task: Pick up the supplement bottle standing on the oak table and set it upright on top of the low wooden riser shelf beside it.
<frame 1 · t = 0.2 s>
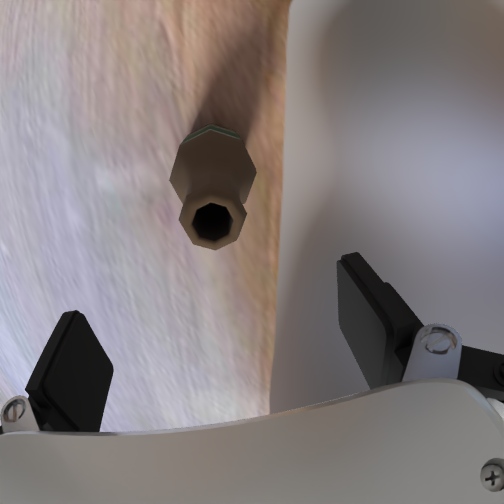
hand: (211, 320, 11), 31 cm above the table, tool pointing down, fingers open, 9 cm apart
beer bottle: (213, 153, 38), on the table
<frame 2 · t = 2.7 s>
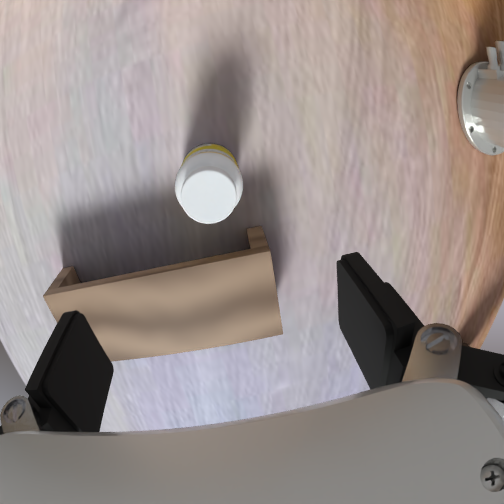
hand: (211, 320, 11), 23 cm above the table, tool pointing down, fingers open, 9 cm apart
supplement bottle: (209, 168, 31), on the table
wooden riser shelf: (165, 286, 36), on the table
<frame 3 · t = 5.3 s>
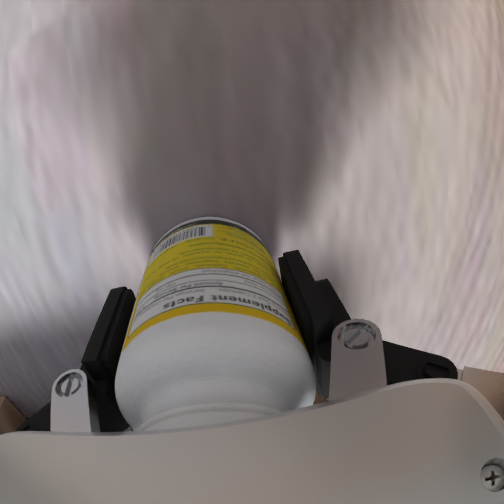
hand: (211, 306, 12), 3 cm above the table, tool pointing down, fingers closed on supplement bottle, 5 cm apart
supplement bottle: (211, 269, 14), on the table, touching gripper
wooden riser shelf: (146, 435, 19), on the table
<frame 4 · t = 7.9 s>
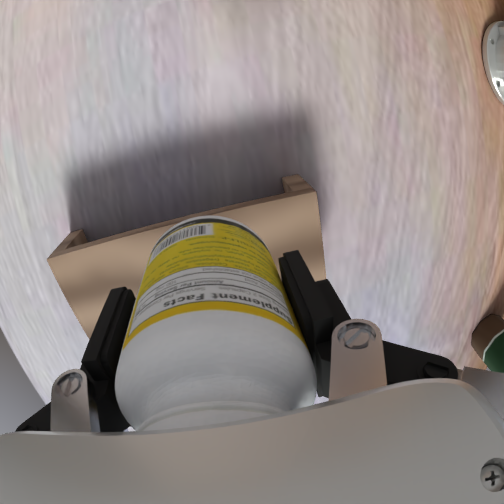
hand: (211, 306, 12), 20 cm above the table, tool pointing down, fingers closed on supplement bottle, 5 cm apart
supplement bottle: (211, 268, 14), point 17 cm above the table, touching gripper
beer bottle: (484, 329, 45), on the table
wooden riser shelf: (188, 248, 32), on the table
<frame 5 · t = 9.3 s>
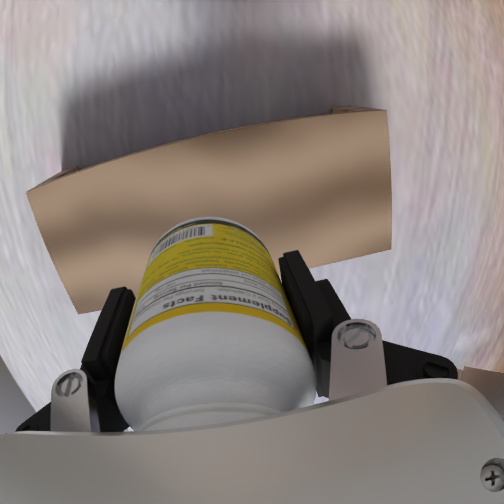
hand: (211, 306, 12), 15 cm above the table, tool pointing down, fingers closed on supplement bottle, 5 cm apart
supplement bottle: (210, 269, 14), point 12 cm above the table, touching gripper
wooden riser shelf: (212, 191, 25), on the table
when the fingers open (10 cm above the table, at t = 10.6 s): supplement bottle drops 1 cm, resting on wooden riser shelf.
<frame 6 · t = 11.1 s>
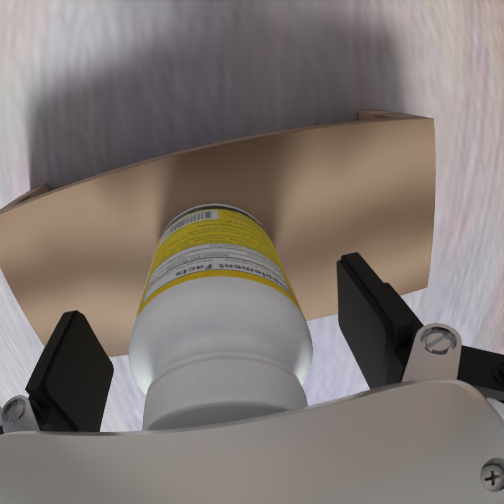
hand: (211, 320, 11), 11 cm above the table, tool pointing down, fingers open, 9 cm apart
supplement bottle: (215, 253, 15), point 6 cm above the table, touching wooden riser shelf
wooden riser shelf: (211, 214, 20), on the table
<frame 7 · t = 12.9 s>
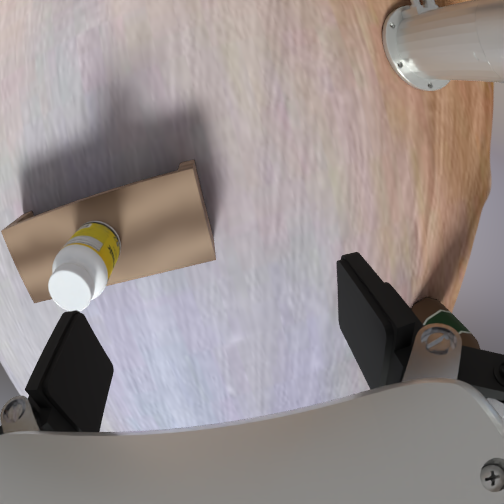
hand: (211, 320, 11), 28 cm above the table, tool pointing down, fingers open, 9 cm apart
supplement bottle: (99, 242, 31), point 6 cm above the table, touching wooden riser shelf
beer bottle: (421, 312, 52), on the table
wooden riser shelf: (110, 224, 37), on the table
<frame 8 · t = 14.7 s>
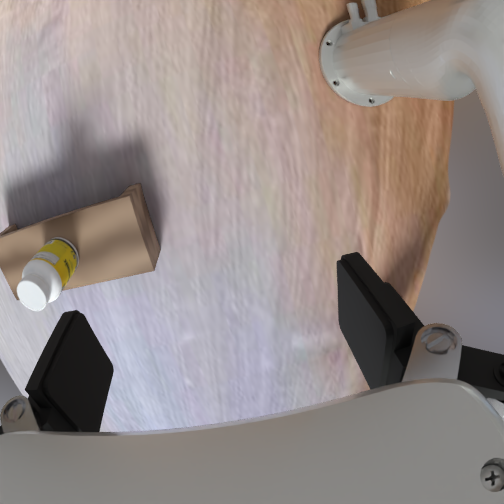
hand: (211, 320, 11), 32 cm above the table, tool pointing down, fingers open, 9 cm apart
supplement bottle: (62, 254, 37), point 6 cm above the table, touching wooden riser shelf
wooden riser shelf: (76, 237, 42), on the table
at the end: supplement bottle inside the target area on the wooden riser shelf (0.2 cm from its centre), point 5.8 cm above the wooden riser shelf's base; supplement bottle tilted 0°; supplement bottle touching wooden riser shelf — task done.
